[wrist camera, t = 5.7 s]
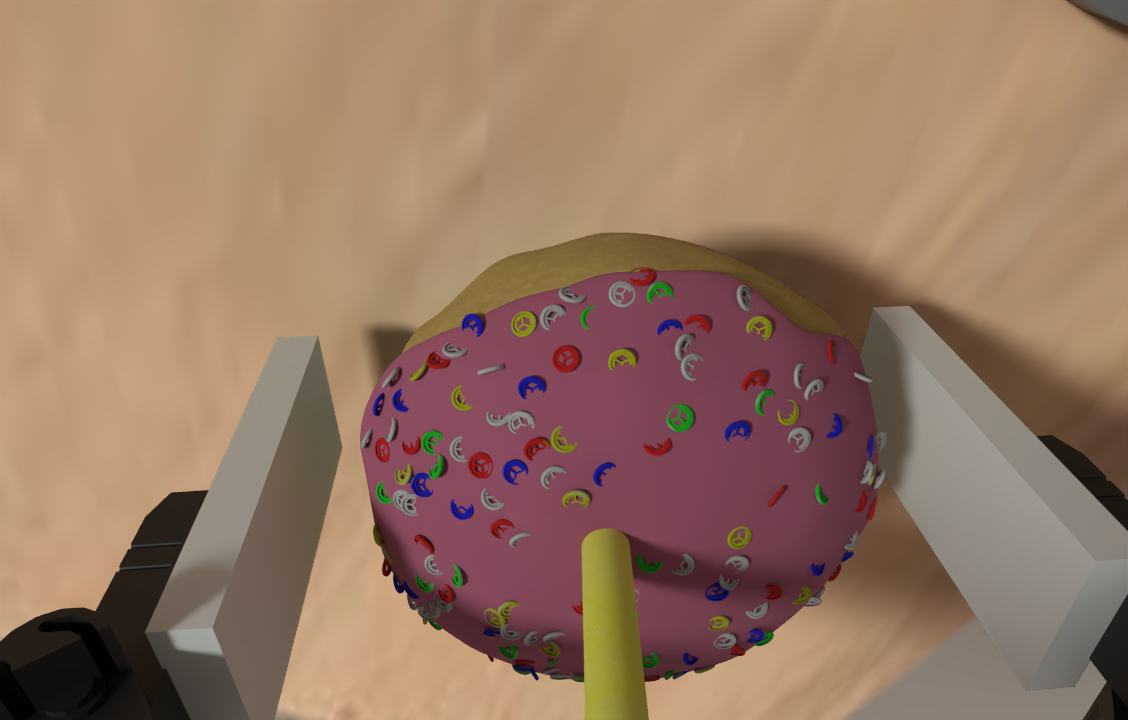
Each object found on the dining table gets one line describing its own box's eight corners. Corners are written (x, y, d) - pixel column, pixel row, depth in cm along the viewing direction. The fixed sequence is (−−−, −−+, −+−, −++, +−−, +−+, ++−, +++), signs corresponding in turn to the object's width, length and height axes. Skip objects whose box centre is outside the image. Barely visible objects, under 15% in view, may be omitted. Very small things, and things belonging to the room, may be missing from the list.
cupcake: (304, 311, 15) (-31, 1125, 5) (652, 48, 13) (1167, 605, 3) (551, 537, 20) (618, 1233, 10) (847, 365, 17) (1337, 1038, 7)
